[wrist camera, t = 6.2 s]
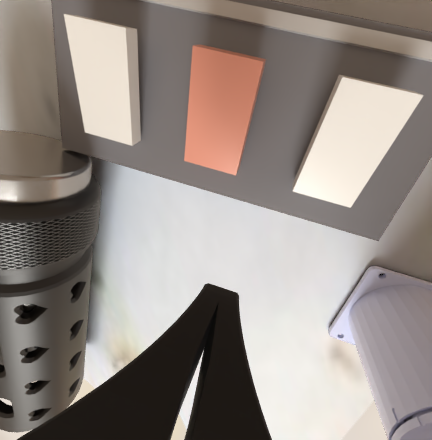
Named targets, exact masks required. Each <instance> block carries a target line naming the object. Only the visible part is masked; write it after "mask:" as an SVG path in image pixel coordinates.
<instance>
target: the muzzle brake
mask: <svg viewBox="0 0 432 440" xmlns="http://www.w3.org/2000/svg"><path fill="white" fill-rule="evenodd" d="M100 203H101V188H100V185H99V183H98V182H97V180H96V178H95V176H94V175H93V174H92V160H91V158H90V156H89V155H85V154H82V153H78V152H75V151H72V150H68V149H65V148H62V141H61V140H58V139H54V138H50V137H46V136H41V135H36V134H30V133H24V132H16V131H6V130H0V398H4V399H7V400H10V401H11V402H12V406H10V405H7V404H5V403H4V402H2V401H1V400H0V429H1V430H4V431H8V432H24V431H29V430H32V429H35V428H36V427H38V426H40V425H41V424H43V423H44V422H46V421H48V420H49V419H51V418H53V417H54V416H56V415H57V414H59V413H60V412H62V411H64V410H65V409H66V408H67V407H68V406H69V405H70V403H71V402H72V401H73V400H74V398H75V397H76V395H77V393H78V392H79V389H80V387H81V384H82V380H83V375H84V362H85V349H86V336H87V322H88V309H89V296H90V282H91V269H92V256H93V251H92V245H91V243H92V242H93V240H94V239H95V237H96V235H97V232H98V227H99V215H100ZM33 381H37V382H34V383H31V382H33Z"/></svg>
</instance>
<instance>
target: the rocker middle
mask: <svg viewBox="0 0 432 440" xmlns="http://www.w3.org/2000/svg"><path fill="white" fill-rule="evenodd" d="M265 62H266V59H263V58H258V57H254V56H249V55H245V54H240V53H236V52H232V51H227V50H223V49H218V48H214V47H209V46H205V45H201V44H199V45H193V48H192V62H191V75H190V89H189V102H188V116H187V130H186V143H185V157H184V161H187V162H190V163H194V164H197V165H201V166H204V167H208V168H211V169H215V170H218V171H222V172H225V173H229V174H232V175H236V174H237V172H238V170H239V167H240V163H241V159H242V155H243V151H244V147H245V143H246V139H247V135H248V131H249V127H250V123H251V119H252V115H253V111H254V107H255V103H256V99H257V95H258V91H259V86H260V82H261V78H262V74H263V70H264V66H265Z"/></svg>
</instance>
